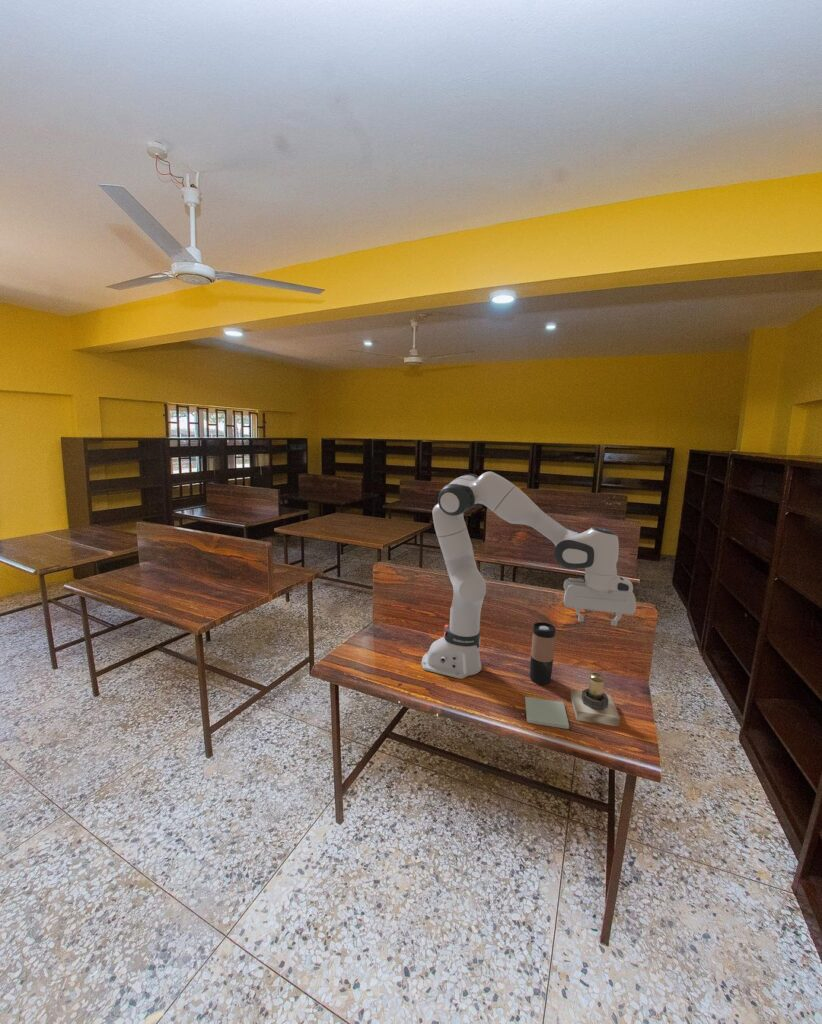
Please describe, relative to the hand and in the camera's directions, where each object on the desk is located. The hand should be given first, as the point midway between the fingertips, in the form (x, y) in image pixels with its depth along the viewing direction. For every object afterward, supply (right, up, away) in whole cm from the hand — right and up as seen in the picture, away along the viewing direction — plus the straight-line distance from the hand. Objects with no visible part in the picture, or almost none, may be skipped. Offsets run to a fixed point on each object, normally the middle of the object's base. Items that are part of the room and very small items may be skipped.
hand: (597, 623), depth 129 cm
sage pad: (-16, -28, +1) cm, 32 cm away
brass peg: (0, -26, +2) cm, 26 cm away
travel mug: (-11, -26, +20) cm, 35 cm away
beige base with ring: (0, -29, +3) cm, 29 cm away
